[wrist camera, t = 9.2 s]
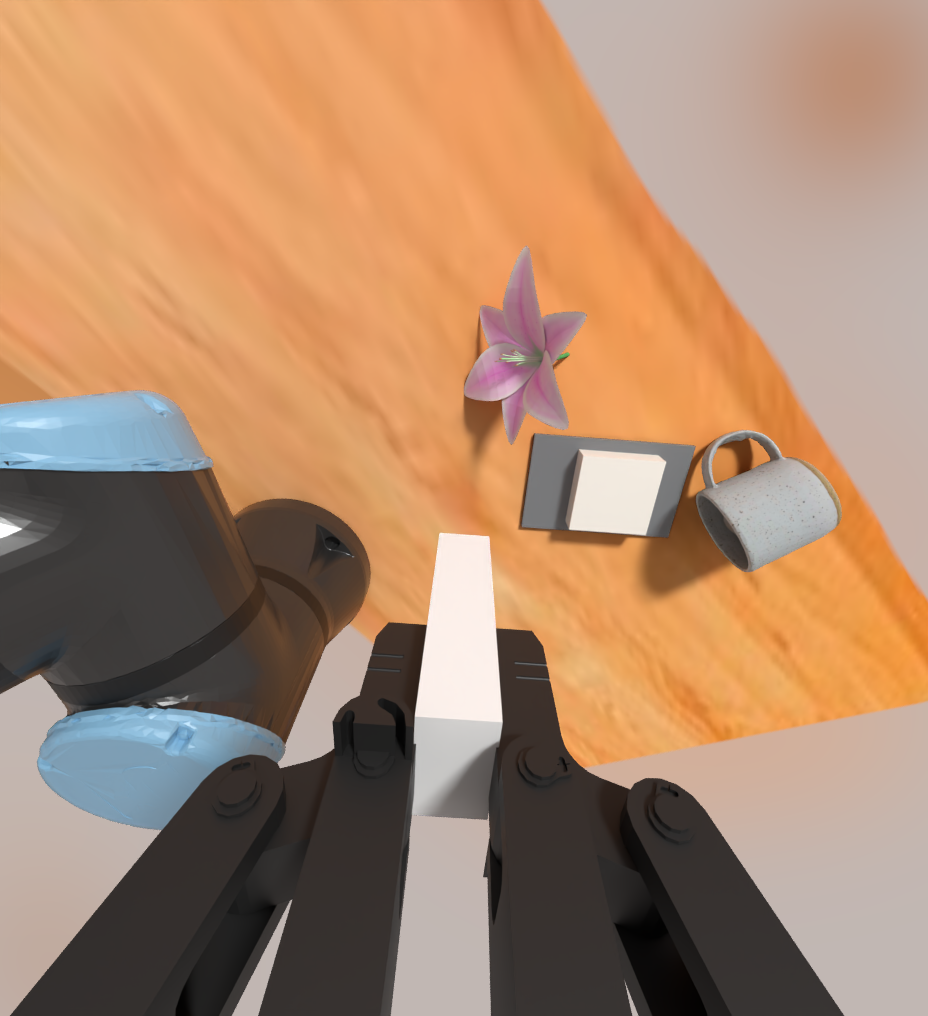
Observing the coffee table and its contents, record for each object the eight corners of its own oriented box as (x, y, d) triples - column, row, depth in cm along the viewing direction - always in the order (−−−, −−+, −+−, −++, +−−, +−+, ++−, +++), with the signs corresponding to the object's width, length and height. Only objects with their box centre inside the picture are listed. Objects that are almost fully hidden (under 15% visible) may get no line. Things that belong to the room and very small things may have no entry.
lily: (537, 232, 34) (475, 224, 26) (663, 327, 32) (633, 346, 25) (466, 365, 41) (402, 387, 34) (564, 447, 40) (519, 488, 33)
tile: (569, 529, 41) (645, 535, 41) (583, 455, 38) (666, 461, 38) (565, 520, 42) (639, 526, 42) (578, 449, 39) (658, 455, 39)
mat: (521, 525, 43) (521, 527, 43) (534, 433, 39) (535, 434, 39) (666, 535, 43) (667, 537, 43) (693, 445, 39) (695, 446, 39)
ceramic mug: (798, 506, 42) (863, 546, 35) (711, 545, 44) (756, 591, 36) (765, 407, 38) (831, 430, 31) (672, 454, 40) (714, 485, 33)
